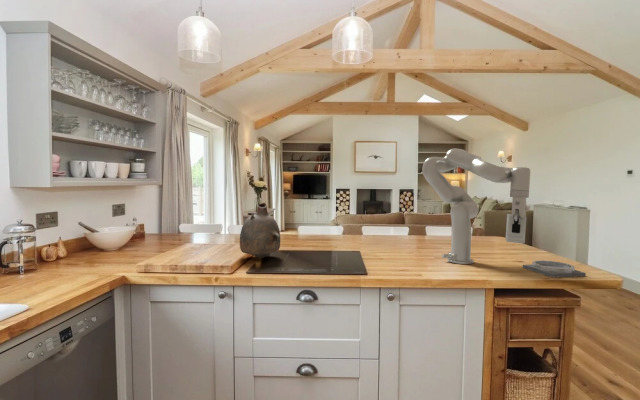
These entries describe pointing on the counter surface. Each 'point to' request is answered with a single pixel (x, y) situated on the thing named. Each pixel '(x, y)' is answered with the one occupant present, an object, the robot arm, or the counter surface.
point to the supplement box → (515, 236)
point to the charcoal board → (553, 274)
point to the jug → (260, 234)
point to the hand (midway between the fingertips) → (517, 231)
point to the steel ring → (567, 267)
